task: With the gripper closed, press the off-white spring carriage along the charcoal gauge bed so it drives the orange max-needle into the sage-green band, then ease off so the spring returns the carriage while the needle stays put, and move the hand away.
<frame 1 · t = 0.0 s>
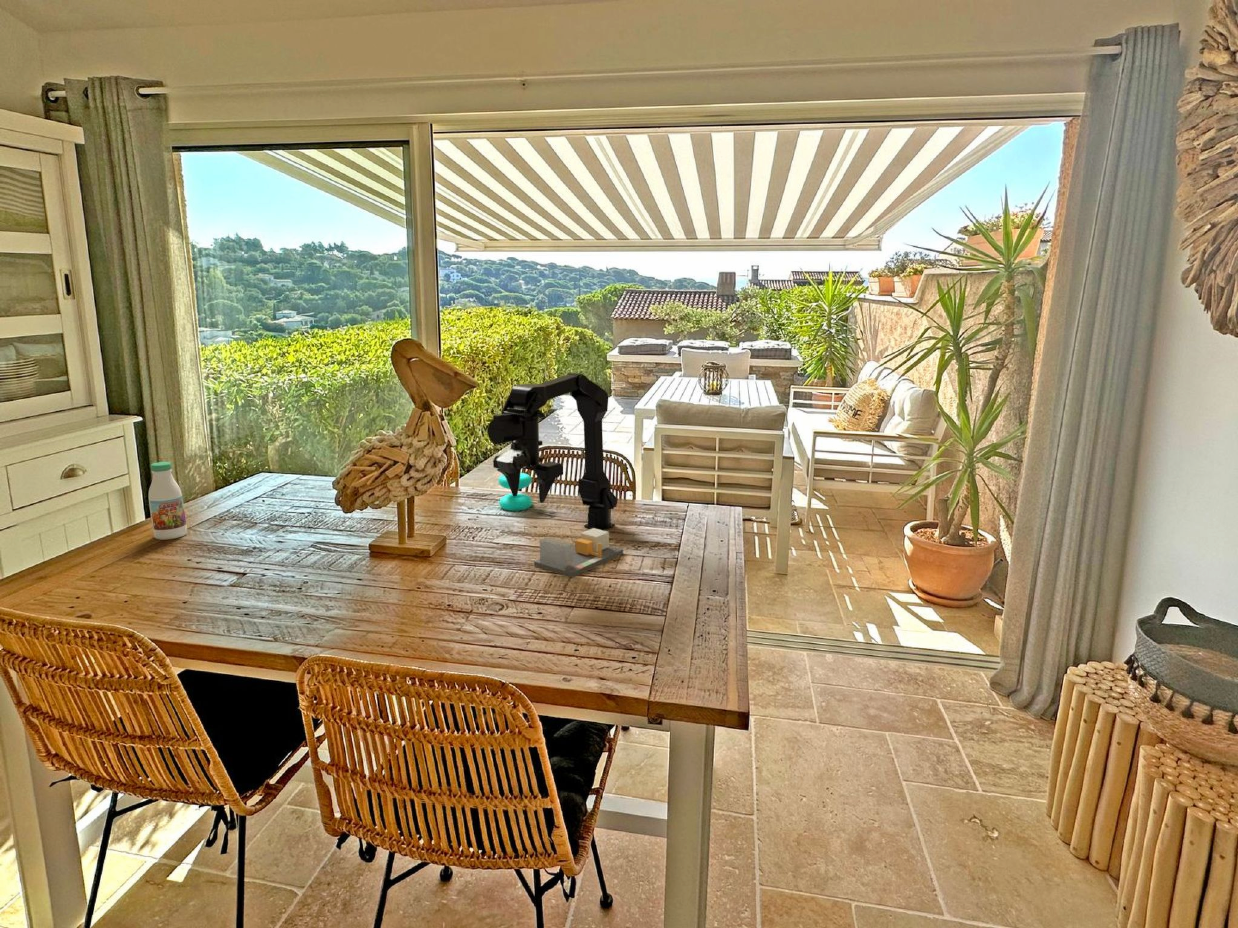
hand: (528, 499, 180), 15 cm above the table, fingers open, 9 cm apart
spring carriage: (595, 539, 184), point 4 cm above the table, slide at 0.0 cm
donuts: (515, 507, 223), on the table
gauge bed: (579, 559, 181), on the table
needle rider: (589, 547, 180), point 3 cm above the table, slide at 0.0 cm
milk bottle: (171, 536, 196), on the table
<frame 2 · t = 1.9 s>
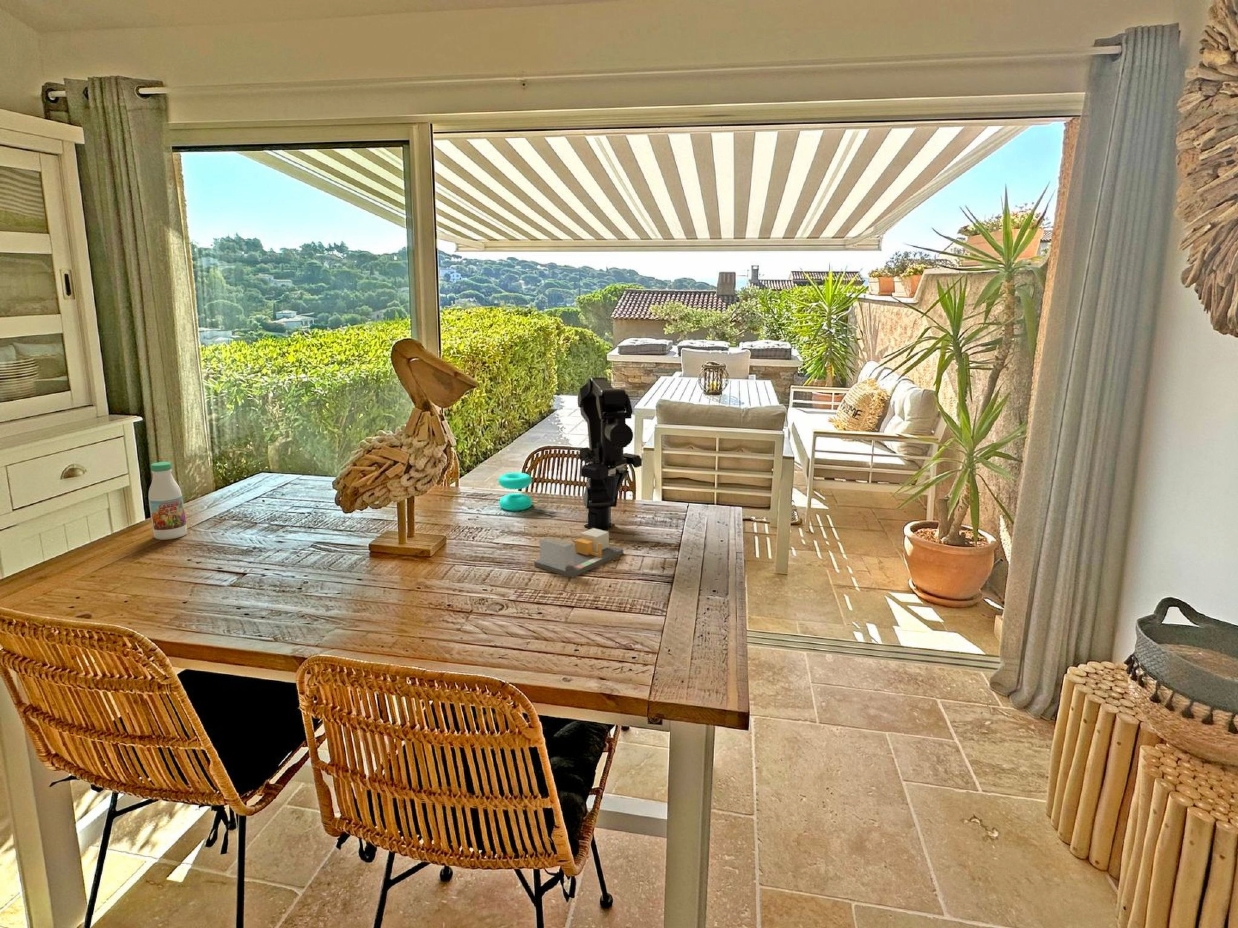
hand: (611, 498, 188), 13 cm above the table, fingers closed
nothing on the table moved.
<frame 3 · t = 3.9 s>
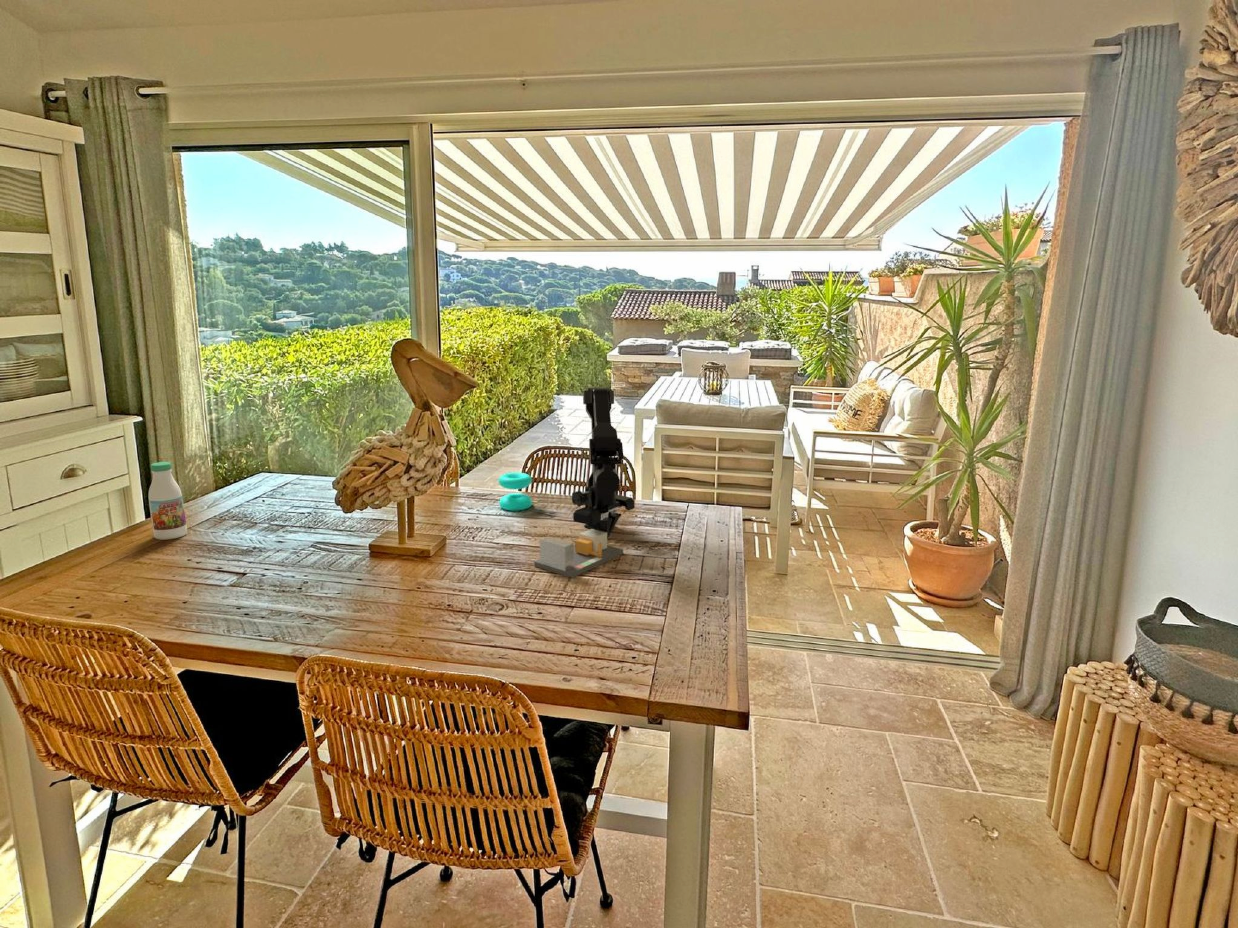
hand: (604, 541, 188), 2 cm above the table, fingers closed
spring carriage: (593, 540, 184), point 4 cm above the table, slide at 0.7 cm, touching gripper
everything else where it was.
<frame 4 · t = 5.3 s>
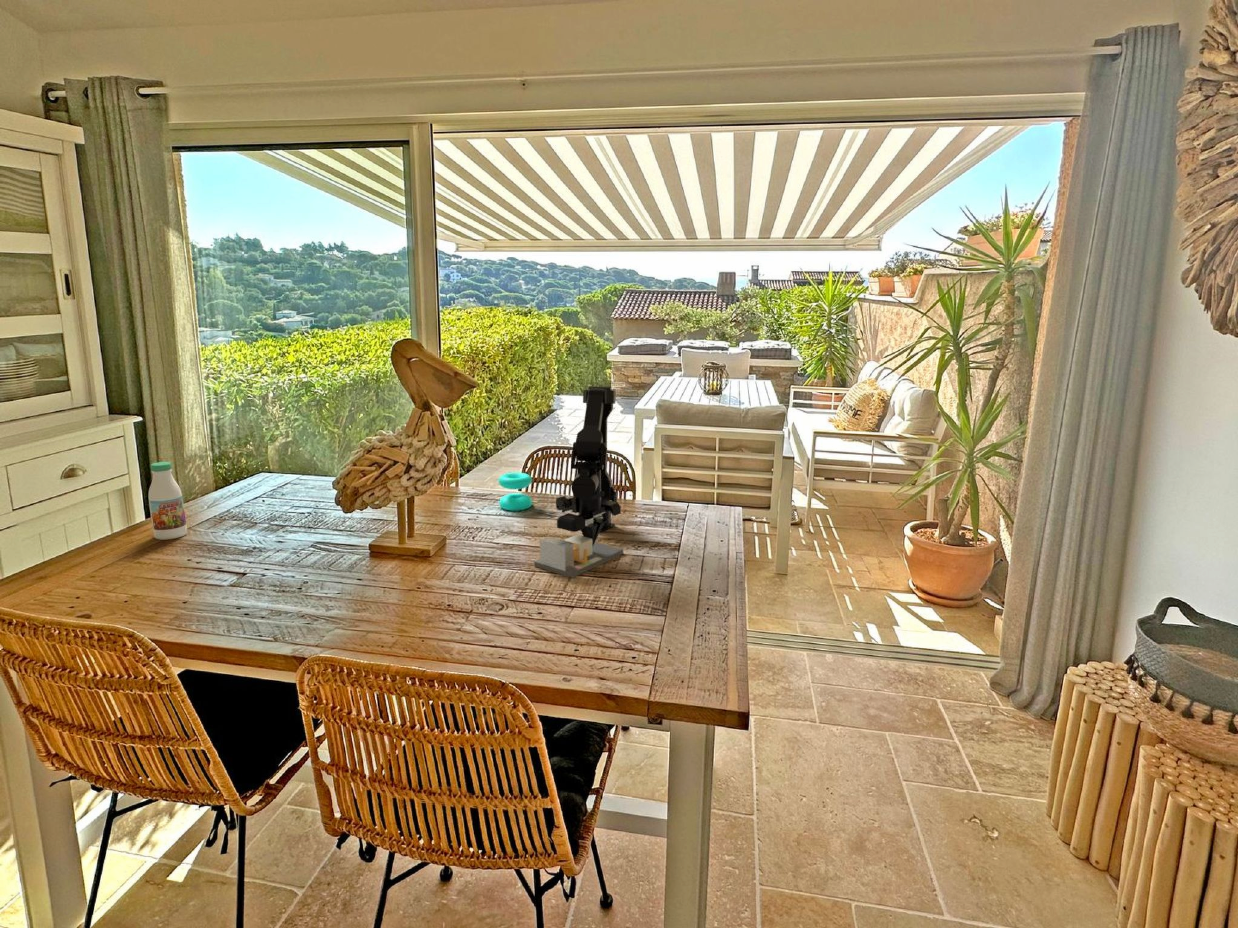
hand: (589, 547, 183), 2 cm above the table, fingers closed
spring carriage: (578, 547, 179), point 4 cm above the table, slide at 6.6 cm, touching gripper, needle rider
needle rider: (574, 553, 176), point 3 cm above the table, slide at 5.6 cm, touching spring carriage
everything else where it was.
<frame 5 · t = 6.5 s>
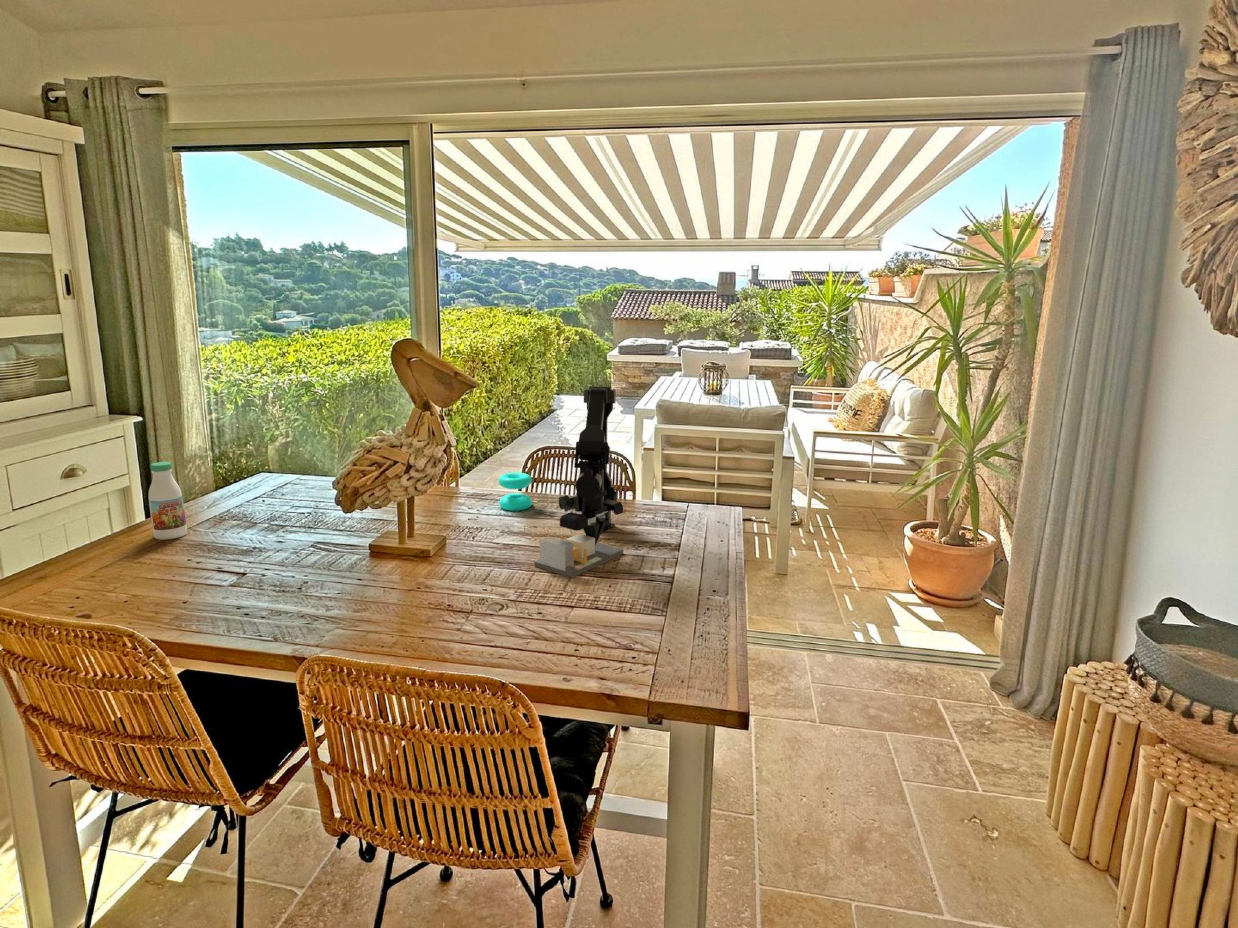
hand: (592, 546, 184), 2 cm above the table, fingers closed
spring carriage: (580, 546, 180), point 4 cm above the table, slide at 5.7 cm, touching gripper
needle rider: (574, 553, 176), point 3 cm above the table, slide at 5.7 cm
everything else where it was.
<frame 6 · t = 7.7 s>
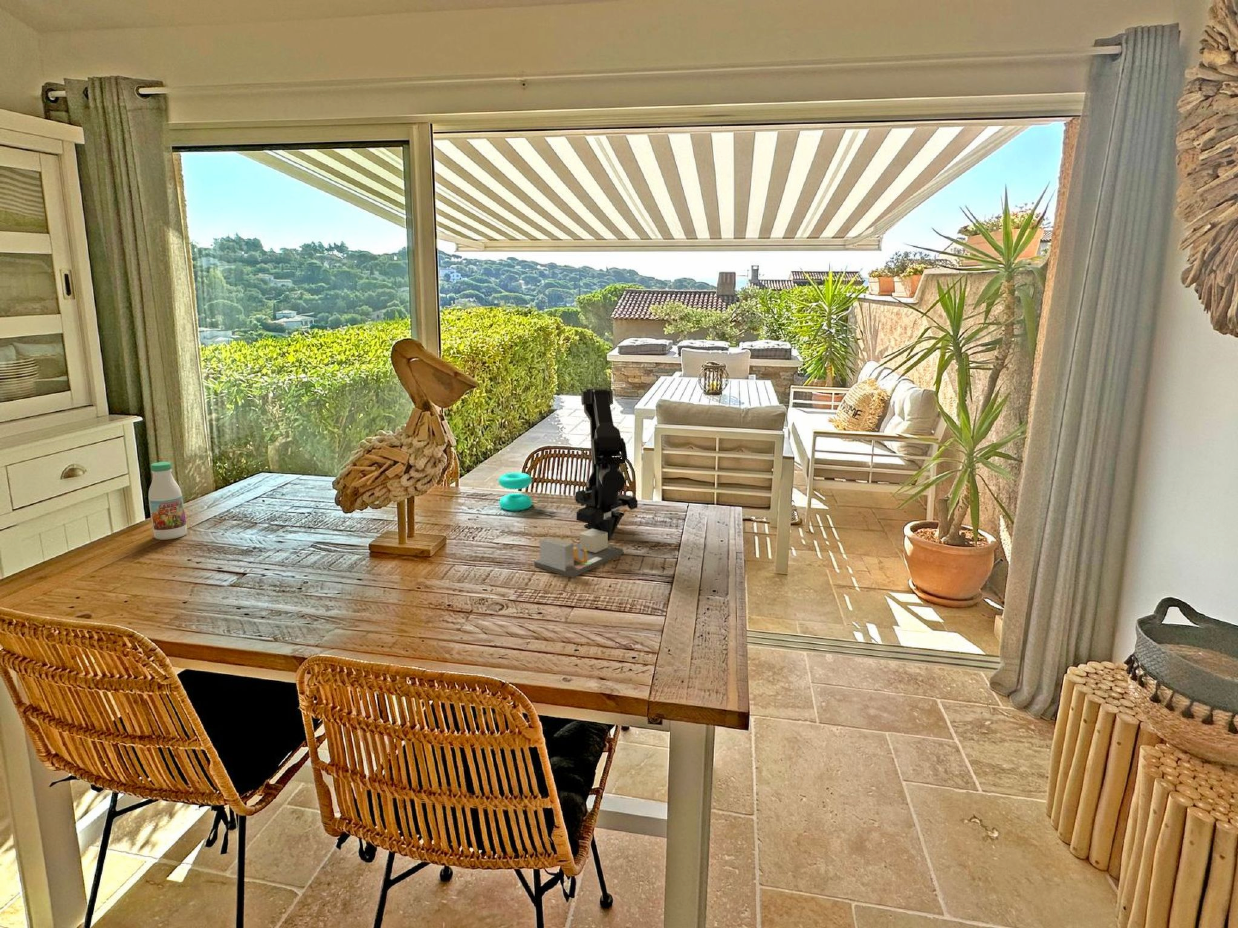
hand: (607, 540, 189), 2 cm above the table, fingers closed
spring carriage: (593, 540, 184), point 4 cm above the table, slide at 0.5 cm
everything else where it was.
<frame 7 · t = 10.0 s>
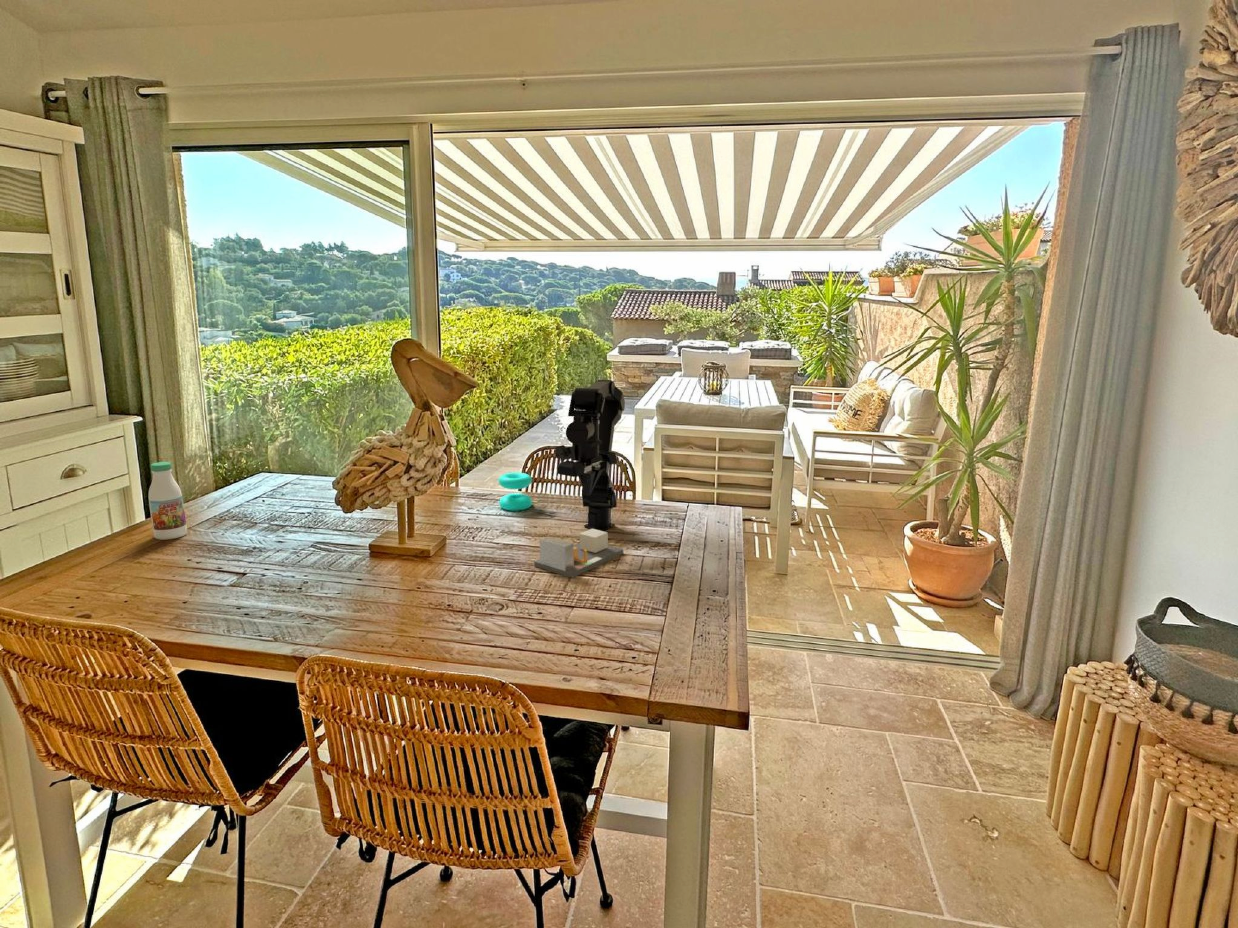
hand: (587, 495, 190), 13 cm above the table, fingers closed
nothing on the table moved.
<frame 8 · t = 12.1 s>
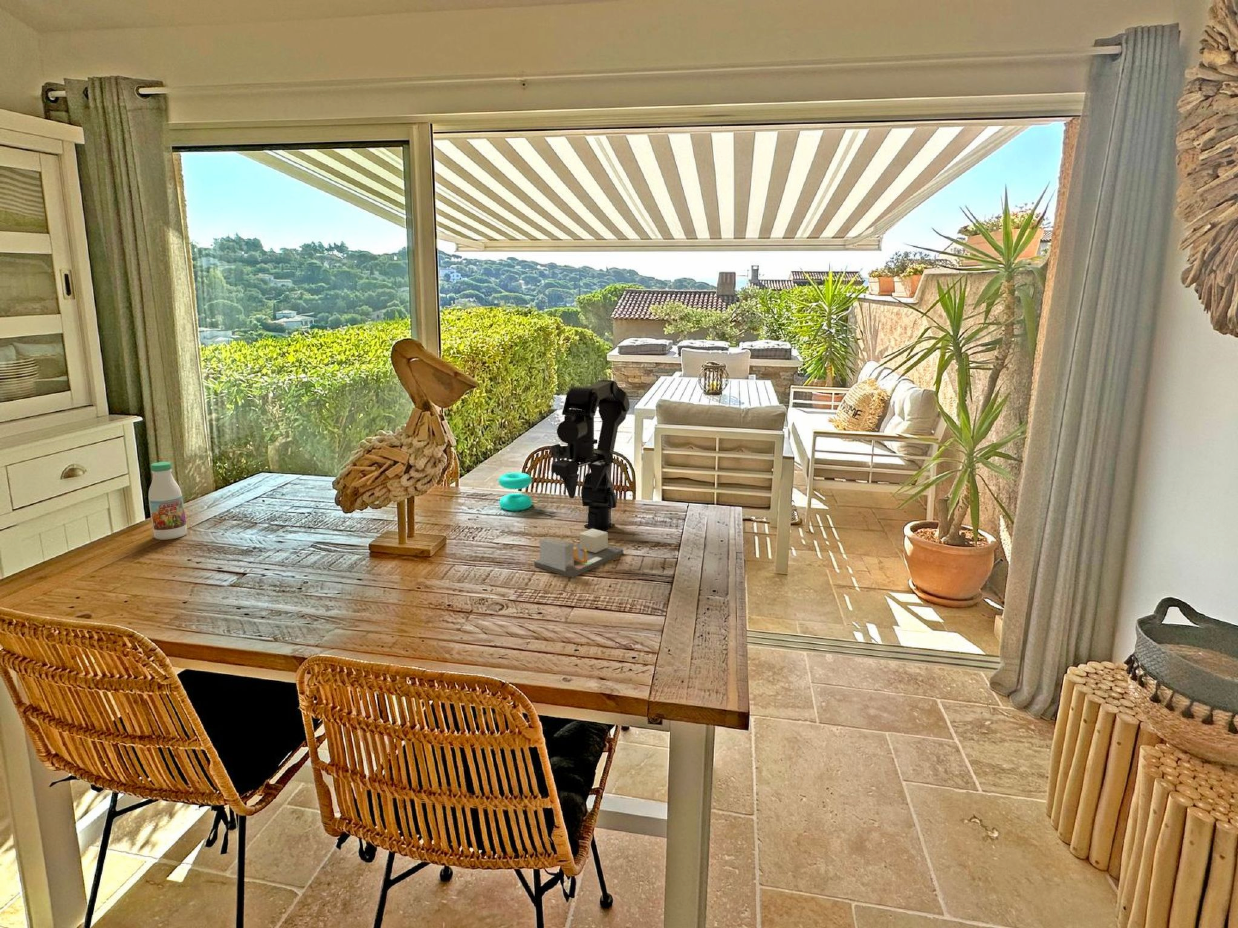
hand: (583, 494, 191), 13 cm above the table, fingers open, 9 cm apart
nothing on the table moved.
at the end: needle rider slide at 5.7 cm; spring carriage slide at 0.5 cm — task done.
